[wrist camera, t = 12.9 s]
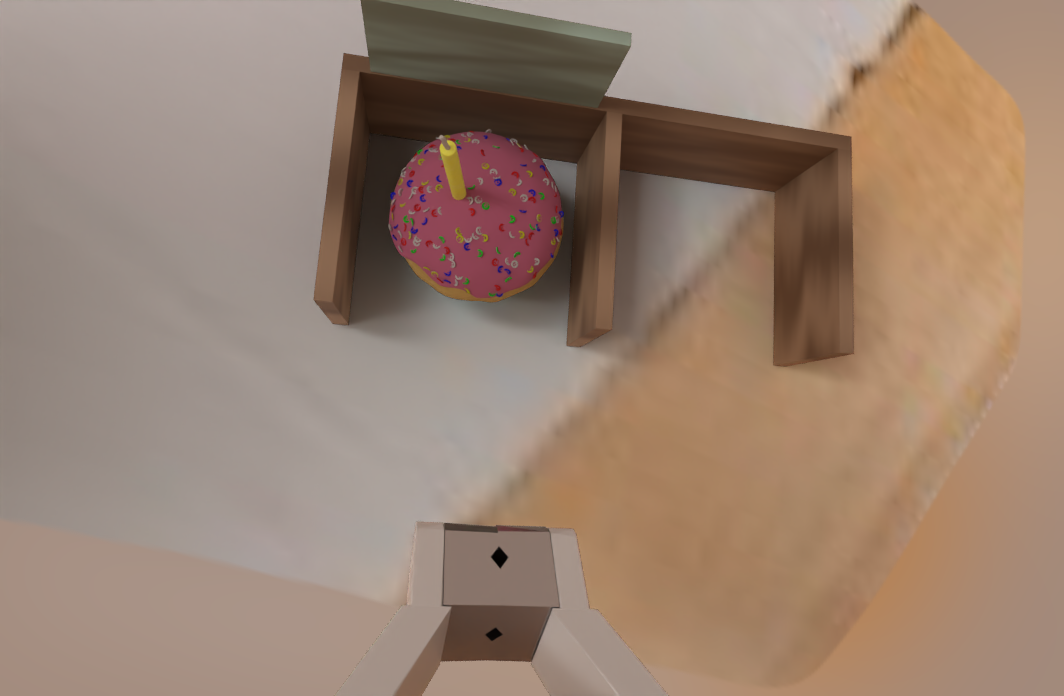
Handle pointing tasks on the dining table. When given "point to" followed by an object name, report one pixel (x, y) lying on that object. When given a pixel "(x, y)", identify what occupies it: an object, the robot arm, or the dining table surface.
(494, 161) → the cupcake
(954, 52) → the dining table surface
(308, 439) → the dining table surface
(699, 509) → the dining table surface
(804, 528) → the dining table surface
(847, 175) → the walnut rack
